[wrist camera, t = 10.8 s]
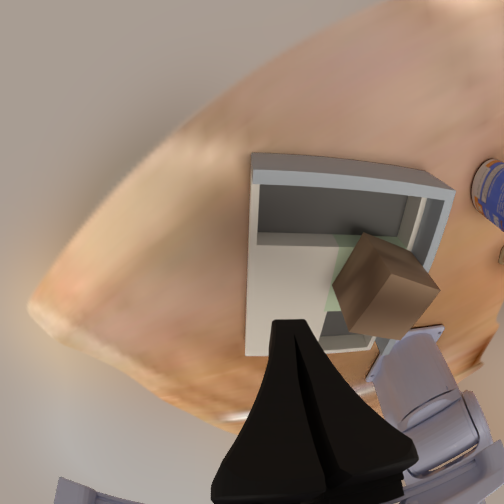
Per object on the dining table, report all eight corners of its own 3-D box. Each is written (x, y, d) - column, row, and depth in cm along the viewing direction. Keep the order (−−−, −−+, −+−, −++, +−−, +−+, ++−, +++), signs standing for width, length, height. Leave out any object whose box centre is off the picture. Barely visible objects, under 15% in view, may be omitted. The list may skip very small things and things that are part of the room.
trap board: (371, 334, 28) (382, 364, 24) (245, 339, 27) (245, 373, 24) (425, 171, 18) (455, 190, 15) (251, 152, 18) (253, 169, 14)
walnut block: (379, 297, 22) (400, 340, 18) (331, 285, 21) (348, 331, 17) (410, 251, 20) (440, 290, 16) (363, 232, 19) (391, 273, 15)
